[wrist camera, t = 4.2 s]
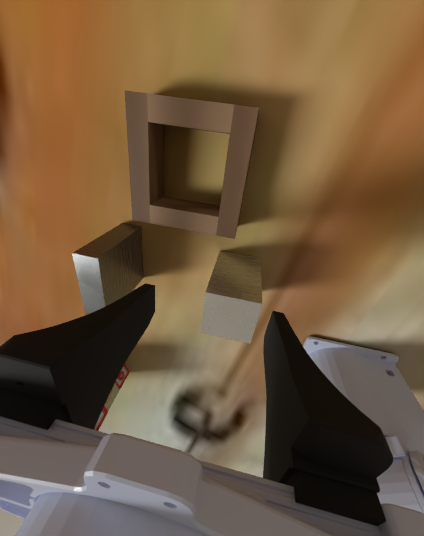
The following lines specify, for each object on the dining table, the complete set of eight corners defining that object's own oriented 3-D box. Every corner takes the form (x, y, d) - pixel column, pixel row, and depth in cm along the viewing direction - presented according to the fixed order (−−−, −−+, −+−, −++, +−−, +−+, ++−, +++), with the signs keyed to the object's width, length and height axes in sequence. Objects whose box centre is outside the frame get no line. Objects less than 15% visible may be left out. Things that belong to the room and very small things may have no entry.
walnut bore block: (258, 113, 16) (258, 107, 13) (237, 226, 20) (234, 238, 18) (145, 98, 17) (124, 90, 14) (147, 210, 21) (132, 220, 19)
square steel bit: (260, 258, 22) (262, 303, 16) (252, 291, 24) (250, 343, 18) (219, 250, 22) (205, 292, 16) (214, 284, 24) (200, 332, 18)
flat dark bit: (141, 226, 22) (97, 258, 16) (143, 277, 25) (107, 320, 19) (122, 223, 22) (72, 253, 16) (126, 274, 25) (85, 315, 19)
